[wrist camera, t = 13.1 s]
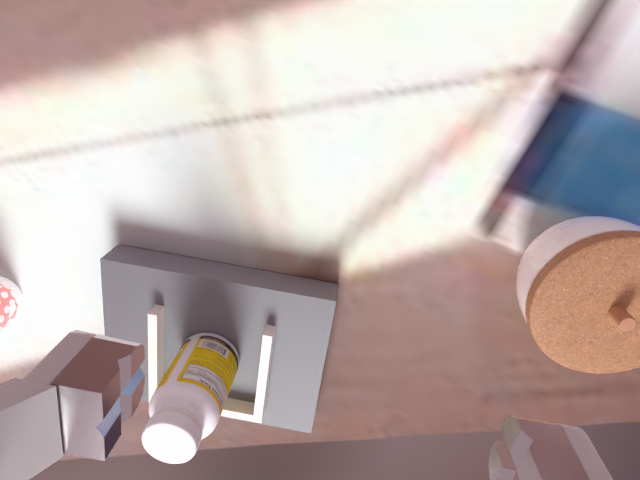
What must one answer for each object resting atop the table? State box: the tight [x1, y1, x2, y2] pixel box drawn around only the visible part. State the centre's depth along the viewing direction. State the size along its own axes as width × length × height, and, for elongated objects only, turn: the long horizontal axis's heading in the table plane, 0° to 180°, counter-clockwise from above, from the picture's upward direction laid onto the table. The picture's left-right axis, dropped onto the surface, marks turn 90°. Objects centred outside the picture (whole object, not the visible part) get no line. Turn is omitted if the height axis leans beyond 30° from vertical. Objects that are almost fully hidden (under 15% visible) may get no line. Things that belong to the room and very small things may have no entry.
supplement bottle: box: [142, 333, 239, 464], centre depth 36 cm, size 5×5×10 cm
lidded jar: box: [516, 216, 640, 374], centre depth 32 cm, size 11×11×9 cm
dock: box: [100, 244, 338, 433], centre depth 41 cm, size 20×15×4 cm
